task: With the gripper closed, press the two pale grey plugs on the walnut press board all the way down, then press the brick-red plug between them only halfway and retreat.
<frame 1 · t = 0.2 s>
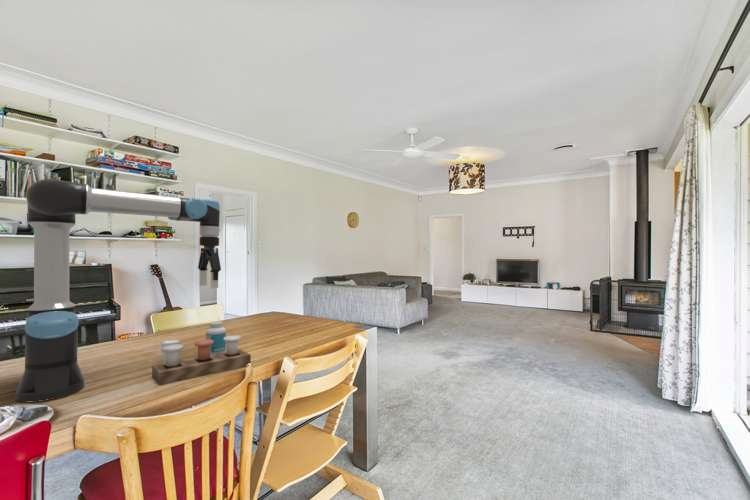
hand: (208, 286, 149), 28 cm above the table, fingers open, 13 cm apart
grey plug right: (232, 345, 133), point 8 cm above the table, slide at 0.0 cm
brick-red plug: (204, 349, 126), point 7 cm above the table, slide at 0.0 cm
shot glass: (171, 359, 139), on the table
pill bottle: (215, 355, 145), on the table
press board: (203, 370, 126), on the table
grey plug left: (172, 355, 119), point 7 cm above the table, slide at 0.0 cm
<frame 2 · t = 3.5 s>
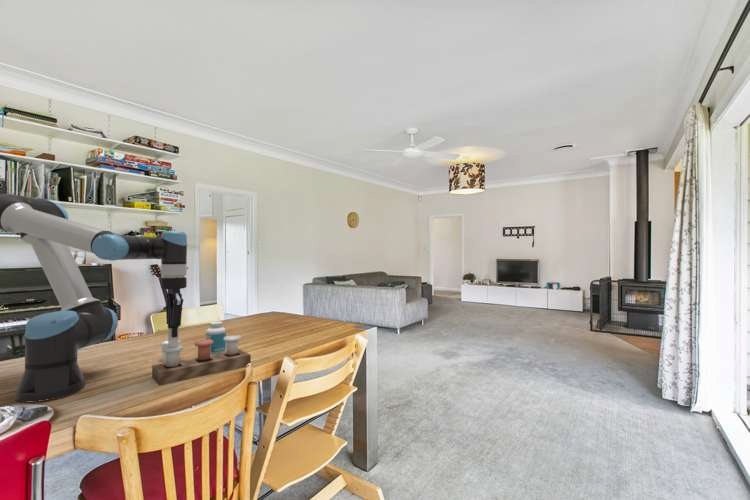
hand: (173, 346, 119), 11 cm above the table, fingers closed
grey plug left: (172, 356, 119), point 7 cm above the table, slide at 0.3 cm, touching gripper
everything else where it was.
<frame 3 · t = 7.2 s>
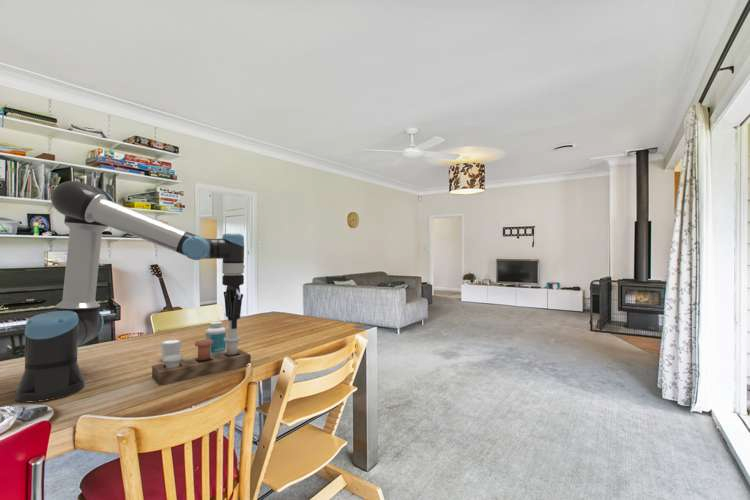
hand: (232, 336, 133), 11 cm above the table, fingers closed
grey plug right: (232, 345, 133), point 7 cm above the table, slide at 0.2 cm, touching gripper
grey plug left: (172, 366, 119), point 4 cm above the table, slide at 3.7 cm
everything else where it was.
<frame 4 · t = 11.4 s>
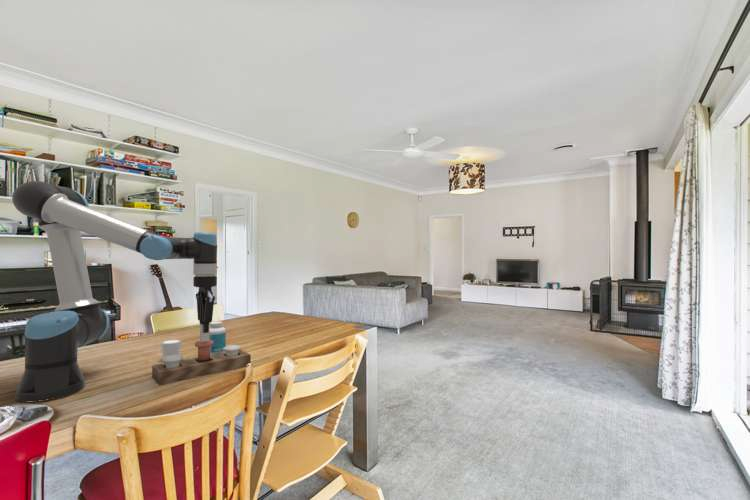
hand: (204, 341, 126), 11 cm above the table, fingers closed
grey plug right: (232, 354, 133), point 4 cm above the table, slide at 3.7 cm
brick-red plug: (204, 350, 126), point 7 cm above the table, slide at 0.2 cm, touching gripper
everything else where it was.
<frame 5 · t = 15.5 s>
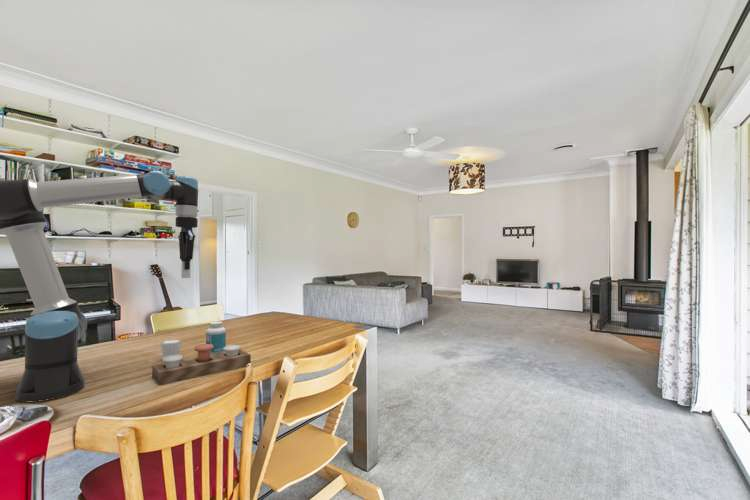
hand: (185, 277, 136), 32 cm above the table, fingers closed
brick-red plug: (204, 354, 126), point 6 cm above the table, slide at 1.7 cm
everything else where it was.
at the end: grey plug left slide at 3.7 cm; grey plug right slide at 3.7 cm; brick-red plug slide at 1.7 cm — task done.
